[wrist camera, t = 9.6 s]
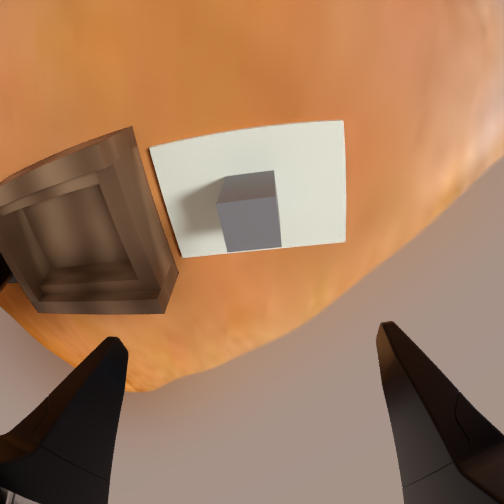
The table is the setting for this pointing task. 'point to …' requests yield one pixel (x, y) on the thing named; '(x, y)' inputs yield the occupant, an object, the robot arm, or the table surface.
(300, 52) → the table surface
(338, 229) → the cover
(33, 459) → the robot arm
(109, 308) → the box
